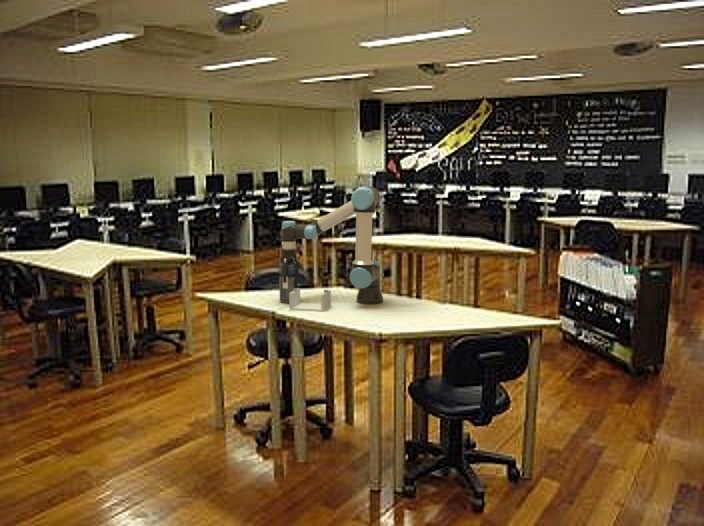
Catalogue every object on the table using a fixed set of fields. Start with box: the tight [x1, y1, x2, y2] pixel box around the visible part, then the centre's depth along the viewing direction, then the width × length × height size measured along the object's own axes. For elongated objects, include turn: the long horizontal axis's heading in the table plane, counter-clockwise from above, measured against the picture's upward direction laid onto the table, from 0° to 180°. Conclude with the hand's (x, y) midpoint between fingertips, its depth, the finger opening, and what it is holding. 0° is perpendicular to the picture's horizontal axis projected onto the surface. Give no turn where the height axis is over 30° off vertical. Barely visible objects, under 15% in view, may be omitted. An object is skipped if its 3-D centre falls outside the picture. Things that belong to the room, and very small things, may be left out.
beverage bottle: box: [278, 256, 300, 304], centre depth 350 cm, size 10×13×25 cm
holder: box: [288, 288, 332, 313], centre depth 335 cm, size 19×14×10 cm
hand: (289, 286), depth 351 cm, fingers open, 13 cm apart
